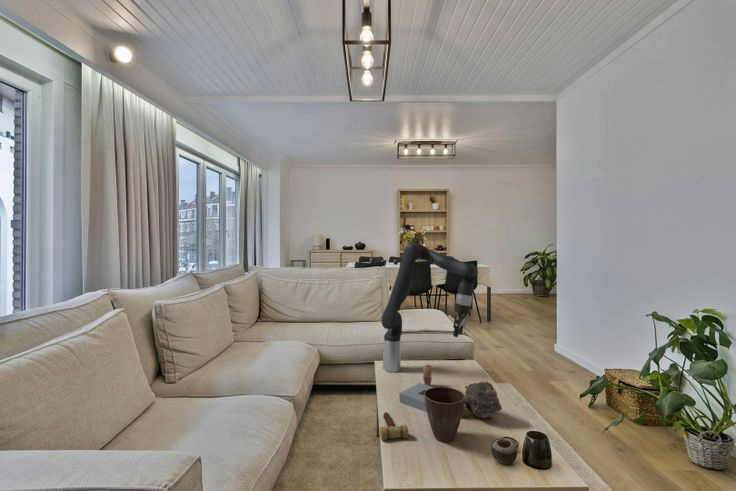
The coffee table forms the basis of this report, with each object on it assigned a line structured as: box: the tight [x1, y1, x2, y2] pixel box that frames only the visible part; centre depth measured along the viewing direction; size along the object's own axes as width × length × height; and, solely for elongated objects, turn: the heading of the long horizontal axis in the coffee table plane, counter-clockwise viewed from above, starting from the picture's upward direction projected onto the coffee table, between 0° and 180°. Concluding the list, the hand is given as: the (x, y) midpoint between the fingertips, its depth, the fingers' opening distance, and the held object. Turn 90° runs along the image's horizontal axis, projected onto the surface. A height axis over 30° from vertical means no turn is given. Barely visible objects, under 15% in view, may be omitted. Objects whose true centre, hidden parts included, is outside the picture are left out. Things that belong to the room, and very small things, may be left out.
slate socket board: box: [399, 382, 433, 413], centre depth 166 cm, size 18×16×4 cm
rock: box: [461, 381, 503, 419], centre depth 152 cm, size 18×14×15 cm
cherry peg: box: [422, 364, 433, 387], centre depth 185 cm, size 4×4×10 cm
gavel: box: [379, 411, 409, 441], centre depth 145 cm, size 21×5×10 cm
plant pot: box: [424, 386, 465, 443], centre depth 137 cm, size 15×15×16 cm
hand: (457, 335), depth 182 cm, fingers open, 8 cm apart
